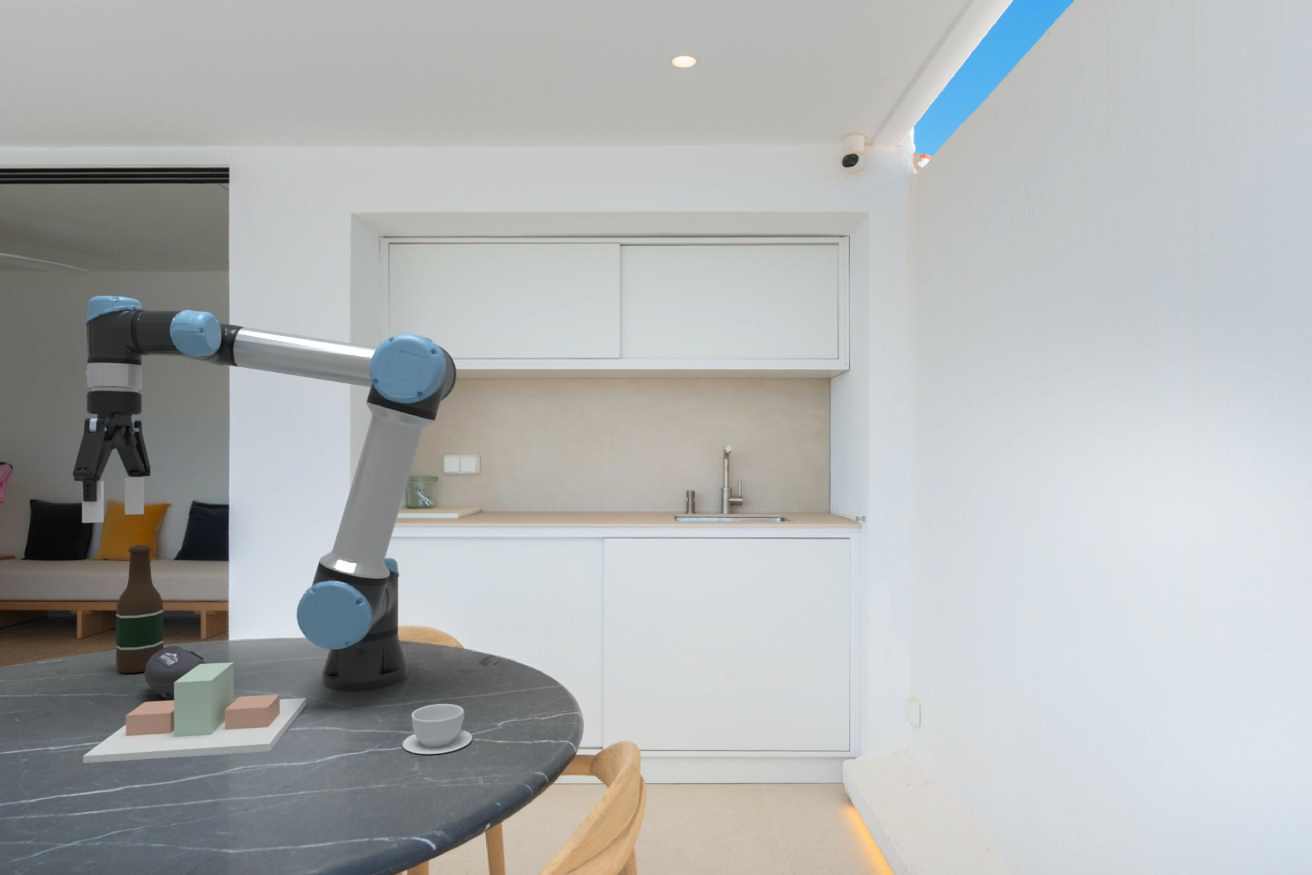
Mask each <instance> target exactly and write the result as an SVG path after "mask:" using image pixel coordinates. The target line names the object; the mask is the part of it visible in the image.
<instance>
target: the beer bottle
mask: <svg viewBox="0 0 1312 875" xmlns="http://www.w3.org/2000/svg"><path fill="white" fill-rule="evenodd" d="M151 551H152V547H151V546H150V545H148V544H136V545H131V546H129V548H128V553H129V567H128V577H127V578H128V581H127V585H126V587H125V589H124V591H123V592H122V593H121V594H120V596H119V598H118V600H117V604H116V611H115V612H116V613H115V624H116V625H115V635H116V636H115V644H116V645H115V648H116V649H115V654H116V655H115V660H116V661H115V662H116V670H117V671H119V672H121V673H122V674H127V673H128V674H129V673H135V674H137V673H142V672H145V669H146V664H147V662H148V660H149V659H150V658H151V657H152V656H153V655H154V654H155V653H156V652H157V651H159V650H161V649H163V648H164V606H163V605H164V604H163V599H162V597H161V594H160V593H159V591H158V589H157V588H156V587H155V586H154V584H153V580H152V579H153V578H152V570H151V569H152V567H151V557H150V556H151V554H150V552H151Z"/></svg>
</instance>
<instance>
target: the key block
mask: <svg viewBox="0 0 1312 875" xmlns="http://www.w3.org/2000/svg"><path fill="white" fill-rule="evenodd" d="M234 701H235V662H234V661H233V662H215V663H207V664H199V665H198V666H196V667H195V668H194V669H192V670H191V671H189V672H188V673H187V674H185V675H184V676H182V677H181V678H180V679H178V680H177V681H175V682H174V737H182V736H198V735H211V734H212V733H213V732H214V731H215V730H216V729H217V728H219V727H220V726H221V725H222V724H223V723H224V722H225V709H226V708H227V707H229V706H230V705H231V704H232V703H233V702H234Z"/></svg>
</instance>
